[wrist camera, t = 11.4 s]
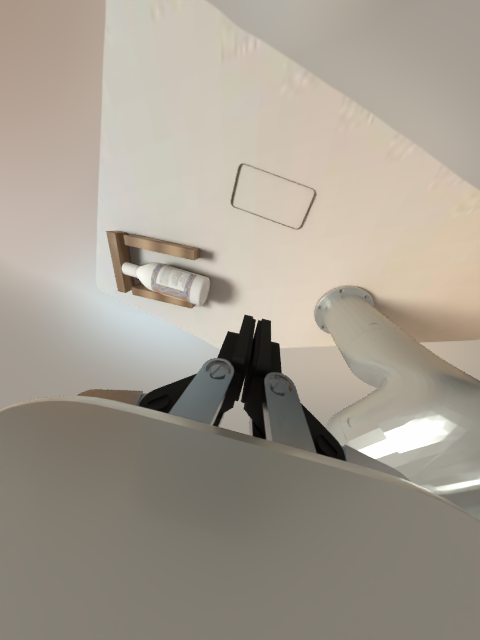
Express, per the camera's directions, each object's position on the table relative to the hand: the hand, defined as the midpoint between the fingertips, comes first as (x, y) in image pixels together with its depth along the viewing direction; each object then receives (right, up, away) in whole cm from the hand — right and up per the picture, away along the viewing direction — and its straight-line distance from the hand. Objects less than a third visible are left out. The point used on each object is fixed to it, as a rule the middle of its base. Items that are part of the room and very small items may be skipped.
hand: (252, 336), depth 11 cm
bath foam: (-9, +8, +29) cm, 32 cm away
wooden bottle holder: (-21, +14, +32) cm, 41 cm away
